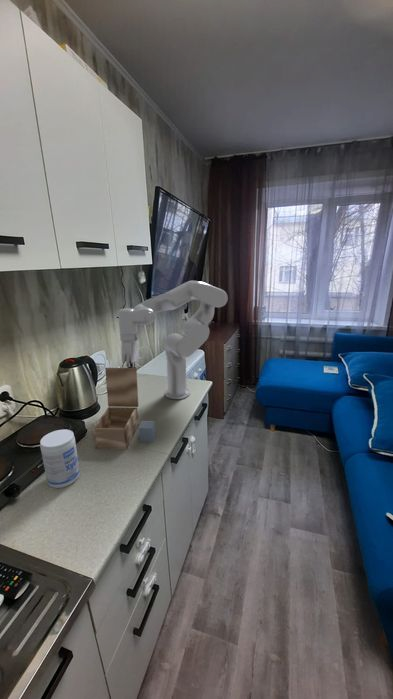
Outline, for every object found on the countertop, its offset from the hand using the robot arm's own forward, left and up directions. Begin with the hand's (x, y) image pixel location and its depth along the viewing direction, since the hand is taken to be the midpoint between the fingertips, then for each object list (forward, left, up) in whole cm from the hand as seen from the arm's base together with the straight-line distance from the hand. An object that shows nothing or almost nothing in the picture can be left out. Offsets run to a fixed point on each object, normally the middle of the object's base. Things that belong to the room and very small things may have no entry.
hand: (132, 375), depth 130 cm
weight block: (+26, +12, -15) cm, 32 cm away
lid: (+16, 0, +1) cm, 16 cm away
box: (+25, 0, -15) cm, 29 cm away
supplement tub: (+48, -10, -15) cm, 51 cm away
